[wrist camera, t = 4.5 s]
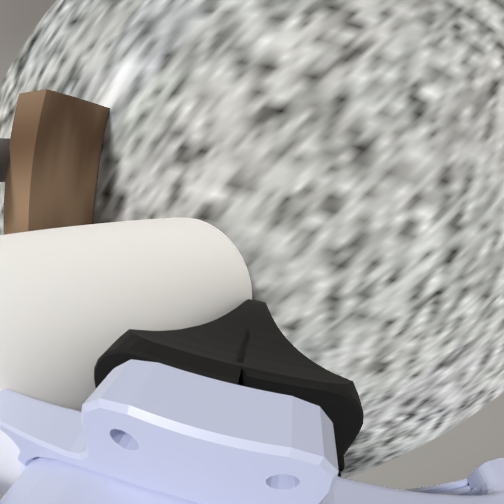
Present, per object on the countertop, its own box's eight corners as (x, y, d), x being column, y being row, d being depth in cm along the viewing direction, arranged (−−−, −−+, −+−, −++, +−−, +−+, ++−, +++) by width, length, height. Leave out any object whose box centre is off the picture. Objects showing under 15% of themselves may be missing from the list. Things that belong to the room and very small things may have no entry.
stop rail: (95, 365, 17) (36, 428, 10) (53, 345, 17) (-8, 395, 10) (109, 108, 13) (12, 80, 6) (59, 109, 13) (-32, 94, 6)
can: (224, 374, 14) (29, 539, 3) (130, 304, 15) (-68, 380, 4) (282, 260, 12) (-75, 444, 1) (162, 194, 14) (-106, 206, 3)
